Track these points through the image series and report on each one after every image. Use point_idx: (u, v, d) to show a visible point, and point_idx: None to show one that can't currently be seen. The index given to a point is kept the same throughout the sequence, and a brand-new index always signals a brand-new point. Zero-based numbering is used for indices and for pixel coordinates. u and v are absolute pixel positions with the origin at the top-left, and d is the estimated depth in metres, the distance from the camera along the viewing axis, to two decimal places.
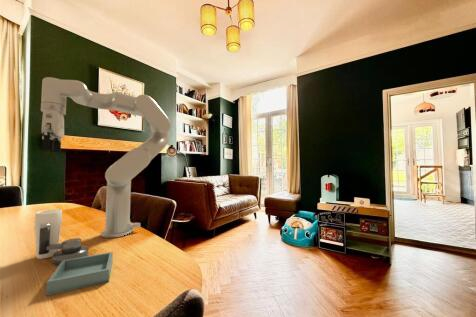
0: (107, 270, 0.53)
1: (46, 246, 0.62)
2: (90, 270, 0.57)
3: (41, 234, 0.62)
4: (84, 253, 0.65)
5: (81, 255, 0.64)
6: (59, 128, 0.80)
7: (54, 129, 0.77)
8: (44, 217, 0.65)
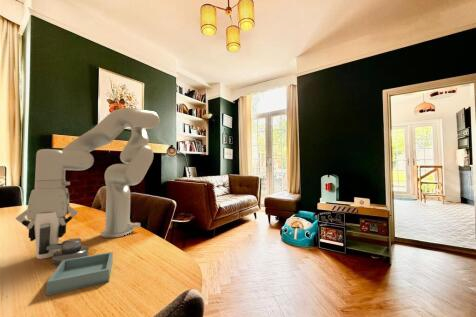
0: (107, 270, 0.53)
1: (46, 246, 0.62)
2: (90, 270, 0.57)
3: (41, 234, 0.62)
4: (84, 253, 0.65)
5: (81, 255, 0.64)
6: None
7: None
8: (44, 217, 0.65)
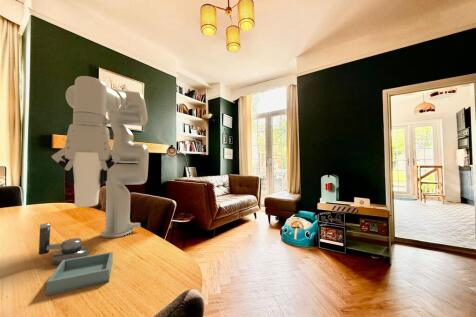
0: (107, 270, 0.53)
1: (46, 246, 0.62)
2: (90, 270, 0.57)
3: (41, 234, 0.62)
4: (84, 253, 0.65)
5: (81, 255, 0.64)
6: None
7: None
8: (85, 156, 0.53)
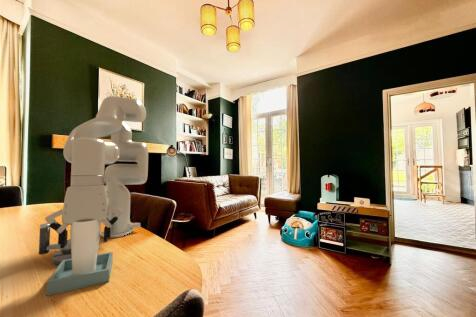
0: (107, 270, 0.53)
1: (46, 246, 0.62)
2: None
3: (41, 234, 0.62)
4: None
5: None
6: None
7: None
8: (82, 226, 0.53)
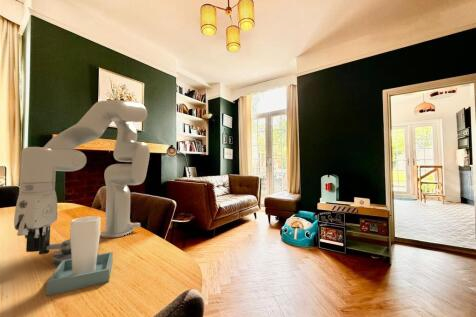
0: (107, 270, 0.53)
1: (46, 246, 0.63)
2: None
3: None
4: None
5: None
6: (39, 217, 0.57)
7: (29, 222, 0.55)
8: (82, 226, 0.53)
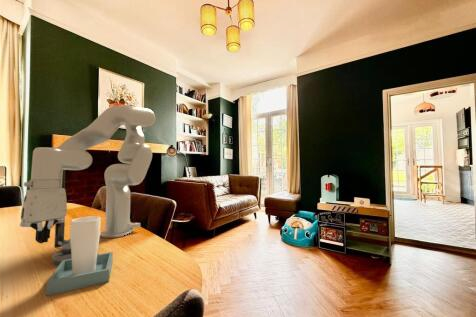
0: (107, 270, 0.53)
1: (57, 240, 0.67)
2: None
3: (55, 228, 0.68)
4: None
5: None
6: (36, 212, 0.61)
7: (25, 216, 0.59)
8: (82, 226, 0.53)
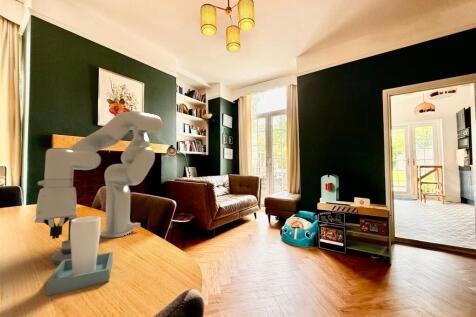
0: (107, 270, 0.53)
1: (69, 238, 0.70)
2: None
3: None
4: None
5: None
6: (44, 209, 0.65)
7: None
8: (82, 226, 0.53)
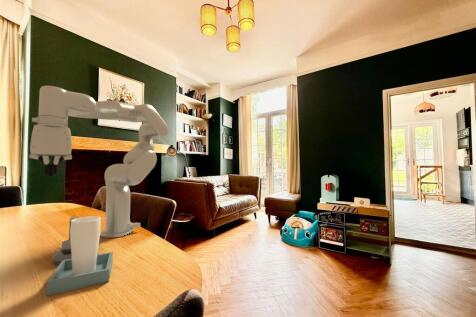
0: (107, 270, 0.53)
1: None
2: None
3: None
4: None
5: None
6: (39, 145, 0.65)
7: (30, 147, 0.64)
8: (82, 226, 0.53)
